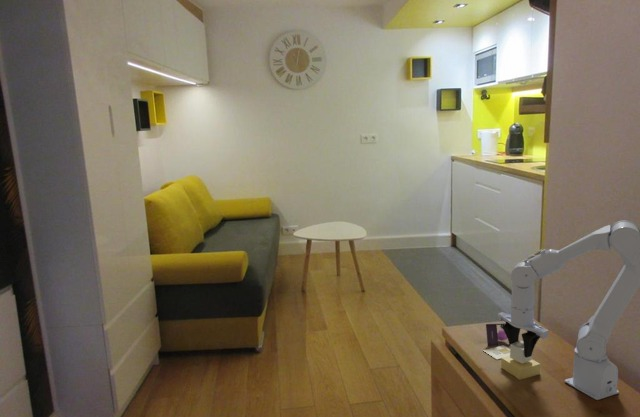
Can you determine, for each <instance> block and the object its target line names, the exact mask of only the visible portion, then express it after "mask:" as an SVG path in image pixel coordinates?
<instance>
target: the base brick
mask: <svg viewBox="0 0 640 417" xmlns="http://www.w3.org/2000/svg"><path fill="white" fill-rule="evenodd" d="M500 360H501V362H500V363H501V366H500V368H501V369H503V370H504V371H506V372H507V373H509V374H510V375H512V376H513V377H515V378H517V379H518V380H519V381H520V380H524V379H527V378H531V377H536V376H538V375H540V374H541V363H539V362H538V361H536V360H535V359H532V360H530V361H528V362H525V363H523V364H522V363H520V362H518V361H516V360H514V359H512V358H510V356H507V357H503V358H501V359H500Z"/></svg>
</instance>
